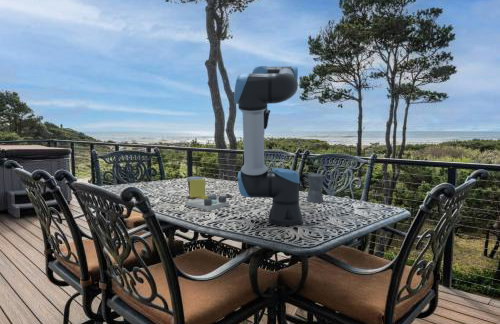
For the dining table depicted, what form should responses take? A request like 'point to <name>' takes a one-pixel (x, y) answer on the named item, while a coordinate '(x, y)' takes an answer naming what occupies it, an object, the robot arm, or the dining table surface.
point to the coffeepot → (314, 186)
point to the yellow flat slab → (199, 190)
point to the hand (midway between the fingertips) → (261, 141)
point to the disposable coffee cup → (189, 183)
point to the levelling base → (201, 204)
